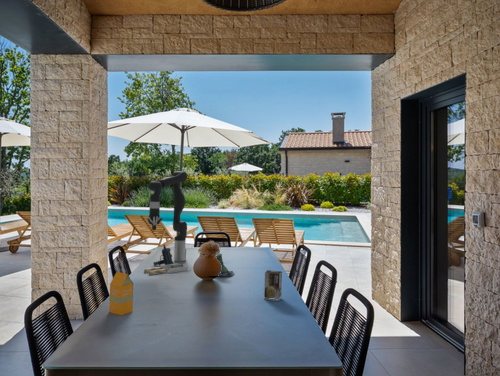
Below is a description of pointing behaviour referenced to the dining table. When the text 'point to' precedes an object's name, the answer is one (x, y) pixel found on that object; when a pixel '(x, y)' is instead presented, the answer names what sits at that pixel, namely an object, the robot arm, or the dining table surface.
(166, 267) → the tray
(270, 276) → the coffee box
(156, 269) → the slotted rail
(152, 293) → the dining table surface
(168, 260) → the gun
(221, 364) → the dining table surface
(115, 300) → the orange juice
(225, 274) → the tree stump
